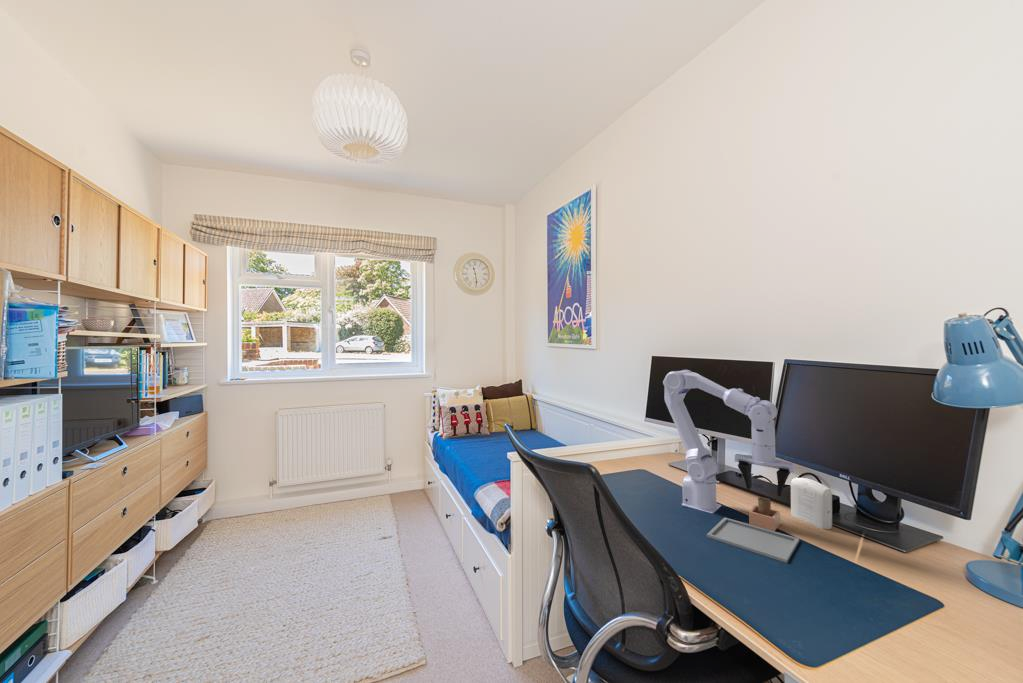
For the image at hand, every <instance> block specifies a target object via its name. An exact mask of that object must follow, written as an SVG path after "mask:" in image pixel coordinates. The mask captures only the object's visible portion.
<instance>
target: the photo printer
mask: <svg viewBox="0 0 1023 683" xmlns="http://www.w3.org/2000/svg"><path fill="white" fill-rule="evenodd" d="M790 516H792V517H793V518H795V519H798V520H800V521H802V522H805V523H806V524H809V525H812V526H813V527H816V528H819V529H822V530H830V529H832V528H833V492H832V491H831V489H830V488H828V487H827V486H826V485H824V484H822V483H820V482H818V481H815V480H813V479H810V478H806V477H794V478H792V480H791V482H790Z"/></svg>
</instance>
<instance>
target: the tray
mask: <svg viewBox="0 0 1023 683" xmlns="http://www.w3.org/2000/svg"><path fill="white" fill-rule="evenodd" d="M706 538H709V539H711V540H715V541H717V542H721V543H725V544H727V545H730V546H734V547H736V548H738V549H739V548H740V549H743V550H746V551H748V552H751V553H755V554H758V555H760V556H764V557H765V558H766V557H767V558H770V559H773V560H775V561H779V562H782V563H785V564H787V563H788V562H789V560H790V559H791V557H792V555H793V553H794V551H795V550H796V548H797V546H798V545H799V543H800V538H798V537H795V536H791V535H788V534H784V533H782V532H777V531H776V530H775V531H772V530H768V529H765V528H761V527H758V526H754V525H751V524H749V523H747V522H743V521H739V520H736V519H731V518H728V517H723V518H722V519H721V520H720V521H719V522H718V523H717V524H716V525H714V527H713V528H712V529H710V531H709V532H708V533H706Z"/></svg>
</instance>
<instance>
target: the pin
mask: <svg viewBox="0 0 1023 683" xmlns="http://www.w3.org/2000/svg"><path fill="white" fill-rule="evenodd" d="M771 501H772V500H771V499H770V498H768V497H763V496H762V497H761V496H760V497H757V506H758V513H759V514H763V515H766V516H770V517H771V509H772V508H771V507H772V506H771Z"/></svg>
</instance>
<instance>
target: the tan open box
mask: <svg viewBox="0 0 1023 683" xmlns="http://www.w3.org/2000/svg"><path fill="white" fill-rule="evenodd" d="M748 520H749V521H748V524H750V525H753V526H757V527H760V528H764V529H767V530H771V531H775V532H776V530H777V529H778V528H779V526H780V525H781V511H780V510H776V509H772V508H771V517H770V516H766V515H763V514H759V513H758V504H755V505H754V506H753V507H752V508H751V509H750V510H749V511H748Z"/></svg>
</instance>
